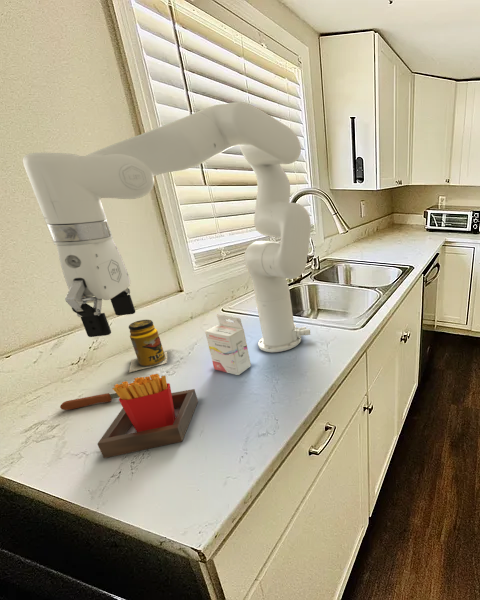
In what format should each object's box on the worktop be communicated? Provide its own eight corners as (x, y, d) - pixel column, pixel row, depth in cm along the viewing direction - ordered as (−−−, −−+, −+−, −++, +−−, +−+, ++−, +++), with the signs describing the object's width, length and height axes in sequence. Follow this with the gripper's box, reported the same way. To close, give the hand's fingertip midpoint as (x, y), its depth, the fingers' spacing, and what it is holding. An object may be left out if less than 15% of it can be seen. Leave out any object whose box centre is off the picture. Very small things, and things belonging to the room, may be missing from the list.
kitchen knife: (61, 412, 72) (58, 404, 72) (64, 408, 73) (61, 401, 73) (145, 395, 77) (143, 388, 77) (147, 392, 79) (145, 385, 78)
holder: (198, 401, 75) (194, 388, 74) (182, 441, 64) (177, 427, 63) (132, 413, 72) (127, 400, 70) (103, 458, 60) (97, 443, 59)
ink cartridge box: (213, 370, 87) (200, 320, 82) (227, 360, 92) (216, 313, 86) (238, 376, 85) (227, 325, 79) (252, 366, 89) (242, 317, 84)
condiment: (167, 363, 91) (155, 324, 86) (128, 373, 86) (114, 332, 82) (167, 352, 96) (156, 315, 92) (131, 360, 92) (117, 322, 88)
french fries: (181, 414, 71) (166, 367, 67) (178, 426, 68) (162, 377, 63) (133, 427, 68) (114, 378, 63) (128, 440, 64) (108, 389, 60)
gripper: (78, 240, 48) (115, 342, 55) (130, 225, 64) (154, 305, 70) (14, 243, 46) (59, 348, 52) (84, 226, 62) (113, 309, 68)
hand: (114, 324), depth 61 cm, fingers open, 9 cm apart
